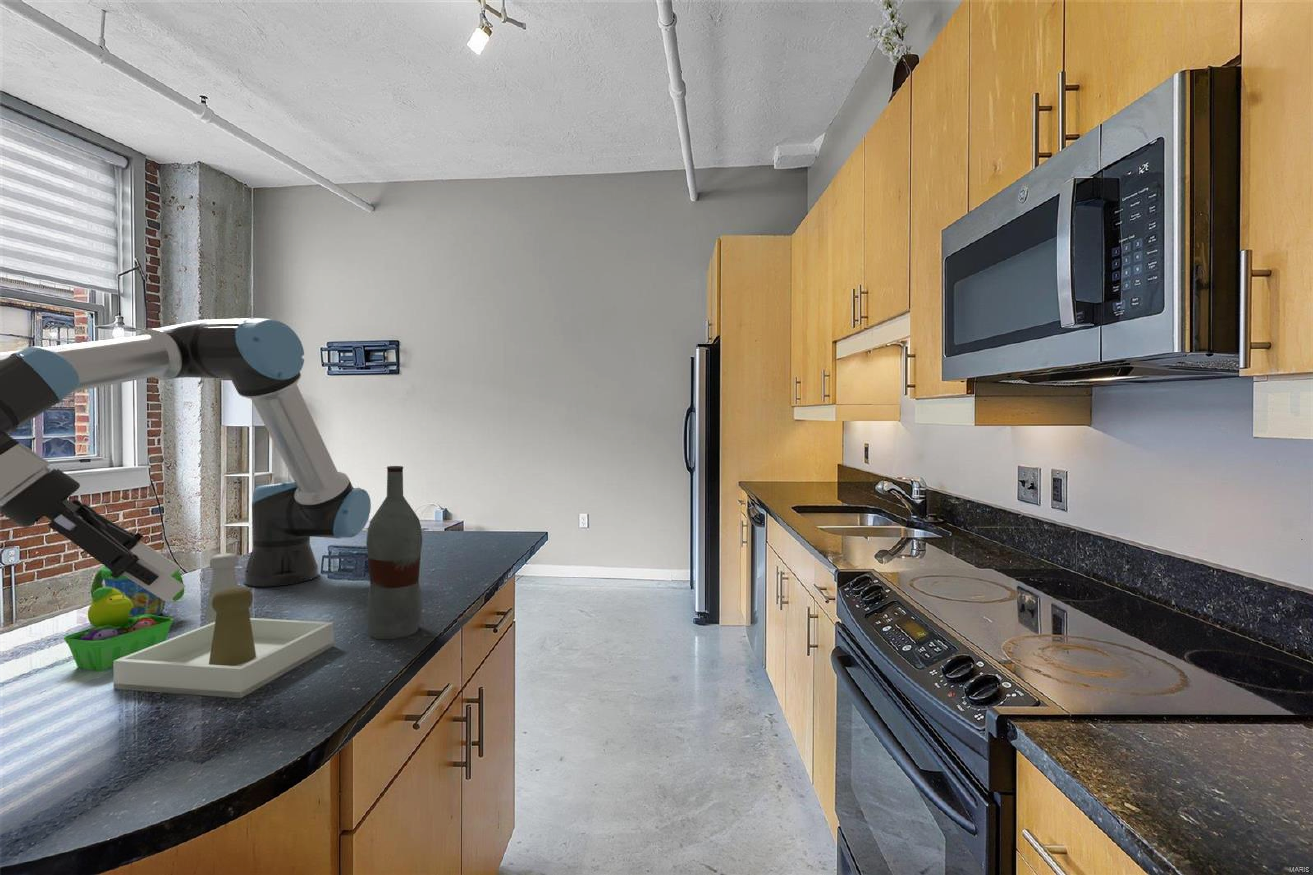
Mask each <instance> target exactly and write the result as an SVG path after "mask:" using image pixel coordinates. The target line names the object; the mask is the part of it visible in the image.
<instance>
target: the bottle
mask: <svg viewBox="0 0 1313 875" xmlns="http://www.w3.org/2000/svg"><path fill="white" fill-rule="evenodd" d="M386 469H387V471H386V472H387V475H386V496H385V498H384V500H383V502H381V505H380V506H379V507H378V509H377V510H376V512H375V514H374V515H373V517H371V519H370V521H369V525H368V528H367V534H366V541H365V542H366V546H365V547H366V553H367V560H368V564H367V565H368V573H369V576H368V577H369V589H368V595H367V602H366V603H367V604H366V610H365V615H366V624H367V630H368V632H369V635H370V637H372V638H374V639H377V640H395V639H401V638H406V637H408V636H409V637H410V636H412V635H414V634H415V633H417V632H418V630H419V627H420V625H421V624H420V623H421V620H422V611H423V601H422V595H421V594H422V593H421V592H422V591H421V587H420V581H419V580H420V569H421V556H422V547H423V533H422V525H421V521H420V518H419V517H418V515H417V513H416V512H415V510H413V508H412V507H411V505H410V503H409V502H408V501H407V499H406V497H405V495H404V472H403V470H404V466H402V465H389V466H386Z"/></svg>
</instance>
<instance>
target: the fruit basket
mask: <svg viewBox="0 0 1313 875" xmlns="http://www.w3.org/2000/svg"><path fill="white" fill-rule="evenodd" d="M91 598H92V599H91V603H90V605H89V608H88V609H87V619H88V622H89V623H90V624H91V625H92V626H93V627H91V628H87V629H83V630H81V631H78V632H76V631H75V632H74V633H70V634H68V635H65V636H64V637H63V639H64V641H65V644H67V645H68V647H69V650H70V652H71V655H72V657H73V660H74V662H75V664H76V666H77V668H82V669H84V668H85V670H89V671H90V670H91V671H97V672H102V670H103V671H105V670H104V669H106V668H109V669H111V668H110V667H112V668H113V661H114V660H117V659H119V658H122V657H125V656H127V655H130V654H132V653H135V652H138V651H140V650H143V649H145V648H148V647H151V646H153V645H156V644H158V643H161V642H164V641H166V640H167V637H168V635H169V631H170V628H171V626H172V625H173V622H174V618H173V617H166V616H160V615H158V616H154V615H147V614H145V615H138V616H134V617H130V618H129V614H130V611H131V609H132V608H134V605H133V602H132V601H131V600H130V599H129V598H128V597H127V596H125V595H123V594H122V593H121V592H120V591H119V590H117V589H115V588H111V587H105V586H103V587H102V588H98V589H97V590H95V591H94V592H93V594H92V597H91ZM106 670H107V669H106Z"/></svg>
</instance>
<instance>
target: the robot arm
mask: <svg viewBox="0 0 1313 875" xmlns="http://www.w3.org/2000/svg"><path fill="white" fill-rule="evenodd" d="M304 356H305V349H304V347H303V344H302V341H301V339H300V336H298V334H297V333H296V332H295V330H294V329H293V328H291V327H290V325H287V324H286V323H284V322H282V321H279V320H277V319H273V318H262V317H249V318H218V319H217V318H209V319H208V318H206V319H205V318H204V319H199V320H193V321H188V322H182V323H178V324H172V325H168V326H162V327H156V328H148V329H147V328H146V329H145V330H142V331H141V332H139V334H138V335H137V336H135V335H134V336H129V337H120V338H111V339H104V340H95V341H87V342H78V343H72V344H71V343H70V344H62V345H61V344H60V345H53V346H46V347H42V346H35V345H33V346H28V347H26V348H24V349H20V350H11V351H4V352H3V351H2V352H0V514H1V515H3V516H5V517H6V518H7V519H9V520H11V521H12V522H14V523H16V524H17V525H19V526H21V527H22V528H29V527H32V526H33V525H35V524H36V523H37V522H39V520H40V519H42V518H43V517H44V518H45V517H46V518H47V519H48V520H49V521H50V522H48V523H47V525H48V526H49V528H50V529H51V530H55V531H56V533H58V534H60V535H62V536H63V537H65V538H67V539H68V540H69V541H71V542H72V543H73V544H74V545H76V546H77V547H78V548H80V549H81V550H83V551H84V552H85V553H86V554H88V555H90V556H91V557H92V558H94V560H96V561H98V562H99V563H100V564H102V565H103V567H104V566H106V567H107V568H108V569H110V571H111V572H112V573H111V574H110V575H111V576H112V577H114V578H116V579H117V578H118V577H120V576H121V575H124V576H125V577H127V578H129V579H130V580H132V581H133V582H135V583H137V584H138V585H140V586H141V587H143V588H145V589H146V590H148V591H149V592H151V593H153V594H154V595H156V596H157V597H159V598H161V599H162V600H164V601H165V603H169V602H170V601H171V600H172V598H173V597H174V596H175V595H176V594H178V593H179V592H180V591H181V590H182V589H183V588H184V589H185V587H186V586H185V584H184V583H183V584H184V585H183V584H182V583H180V582H179V581H177V580H176V579H174V578H173V577H171V575H172V574H173V573H175V572H176V571H177V570H178V571H179V569H180V568H181V567H180V566H179V565H177V563H175V562H174V561H173V560H172V561H173V562H172V561H170V560H171V559H168V558H167V557H165V556H164V555H162V554H161V553H159V551H157V550H155V549H154V548H152V547H151V546H149V545H147V544H146V543H145V542H143V541H141V540H143V538H144V535H142V533H139V532H137V533H136V534H135V533H133V532H130V531H129V530H127V529H125V528H123V527H121V526H120V525H119V524H116V523H115V522H113V521H111V520H110V519H108V518H106V517H105V516H104V515H102V514H100V513H98V512H97V511H96V510H95V509H93V507H91V506H89V505H87V504H86V503H82V502H81V501H80V500H77V499H72V501H71V500H69V499H68V498H70V496H72V495H73V494H74V493H75V492H76V491H78V490H79V488H80V487H81V484H80V483H79V482H78V481H77V480H75V479H74V478H72V477H71V476H70V475H68V474H66V473H65V472H63V470H61V469H59V468H57V469H56V468H53V469H50V468H49V466H50V462H49V461H48V460H47V459H45V458H44V457H42V456H41V455H39V454H38V453H37V452H35V451H33V450H32V449H31V448H29V447H27V446H26V445H24V444H23V443H22V442H19V441H18V440H17V439H15V438H13V437H12V436H11V435H9V434H11V433H13V432H14V431H16V430H17V429H18V428H21V427H22V426H23V425H25V424H27V423H29V421H31V420H33V419H34V418H36V417H38V416H39V415H41V414H42V413H44V412H46V411H47V410H49V409H50V408H52V407H54V406H55V405H56V404H60V403H62V402H63V400H64V399H66V398H67V397H68V396H70V394H72V393H74V392H79V391H84V390H90V389H95V388H100V387H107V386H111V385H112V386H113V385H117V384H123V383H127V382H133V381H137V380H144V379H149V378H154V379H155V380H156V379H157V380H160V381H168V380H174V379H179V378H181V379H182V378H199V379H200V378H201V379H207V378H208V379H227V380H231V382H232V384H233V386H234V389H236V392H237V393H238V395H239V396H241V397H242V398H246V399H250V400H251V401H252V403H253V406H254V407H255V409H256V411H257V413H258V415H259V417H260V418H261V420H262V422H263V425H264V426H265V429H266V430H267V432H268V433H269V436H270V438H271V439H272V441H273V444H274V445H275V447H276V449H277V452H278V453H279V455H280V457H281V459H282V460H283V462H284V464H285V466H286V468H287V471H288V472H289V473H290V476H291V478H292V479H293V481H290V482H280V483H272V484H265V485H264V484H263V485H259V486H257V487H255V489H254V491H253V494H252V502H251V510H252V511H251V512H252V513H251V515H252V516H251V520H252V522H251V523H252V524H251V525H252V549H251V550H252V551H251V553H250V556H249V559H248V562H247V565H246V569H245V570H244V572H243V583H244V584H245V585H247V586H252V587H277V586H287V585H286V584H288V585H293V584H292V583H294V584H297V583H296V582H299V583H304V582H307V581H310V580H312V579H311V578H313V577H315V578H317V577H318V576H319V565H318V563H317V560H316V557H315V554H314V552H313V549H312V545H311V538H313V537H315V538H325V539H327V538H328V539H329V538H331V539H337V540H338V539H350V538H351V539H352V538H354V537H356V536H358V535H359V534H361V532H362V531H363V530H364V528H365V527H366V525H367V524H368V521H369V517H370V514H371V509H372V508H371V507H372V503H371V498H370V495H369V493H368V491H367V490H365V489H364V488H363V489H362V488H361V487H353V484H352V483H351V482H352V481H351V480H350V478H349V476H348V475H347V474H346V473H344V472H341V471H338V469H337V467H336V464H334V461H333V459H332V457H331V454H330V453H329V450H328V448H327V446H326V444H325V442H324V440H323V438H322V435H321V434H320V431H319V429H318V427H317V424H316V422H315V421H314V418H313V416H312V414H311V412H310V410H309V408H308V406H307V403H306V402H305V399H304V396H303V395H302V393H301V390H300V389H299V386H298V383H299V381H300V380H301V378H302V377H301V376H302V374H301V371H302V369H303V367H304V363H305V359H304V358H303V357H304ZM317 575H318V576H317ZM316 576H317V577H316ZM309 579H310V580H309ZM313 579H314V578H313ZM306 580H307V581H306ZM303 581H304V582H303Z"/></svg>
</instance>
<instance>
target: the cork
mask: <svg viewBox="0 0 1313 875" xmlns="http://www.w3.org/2000/svg"><path fill="white" fill-rule="evenodd" d="M253 600H254V596H253V591H251V589H249V588H247V587H239V586H238V587H237V588H228V589H224V590H221V591H219V592H217V593H216V594H215V595H214V597H213V600H212V607H213V609H214V610H215V612H216V613H217V614H216V620H215V627H214V633H213V640H212V646H211V653H210V659H209V665H224V666H235V665H239V664H243V663H246V662H249V661H251V660H253V659H254V658H255V657H256V652H255V645H254V639H253V633H252V627H251V621H250V618H251V616H250V610H249V609H250V607H251V606H252V604H253Z"/></svg>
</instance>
